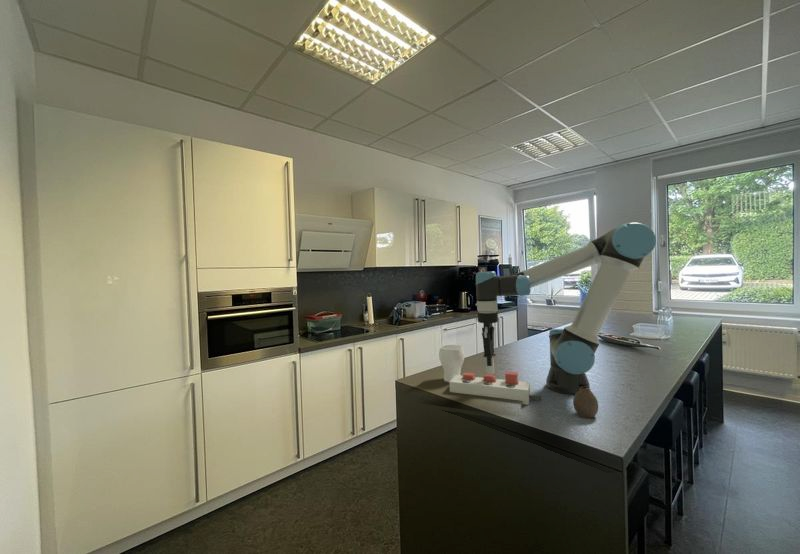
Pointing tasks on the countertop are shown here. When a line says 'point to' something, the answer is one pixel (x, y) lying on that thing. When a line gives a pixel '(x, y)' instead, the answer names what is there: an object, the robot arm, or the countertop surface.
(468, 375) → the button
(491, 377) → the button
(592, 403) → the vase
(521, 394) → the strip
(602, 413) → the countertop surface
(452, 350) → the cup
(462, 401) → the countertop surface
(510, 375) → the button
